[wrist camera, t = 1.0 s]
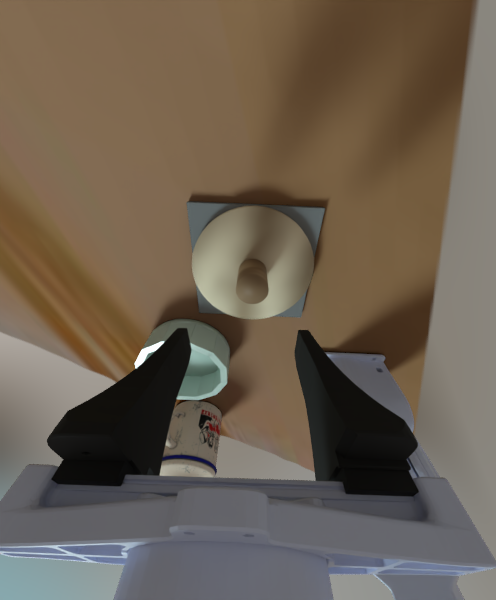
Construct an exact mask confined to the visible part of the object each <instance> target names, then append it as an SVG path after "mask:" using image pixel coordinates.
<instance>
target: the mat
mask: <svg viewBox="0 0 496 600" xmlns="http://www.w3.org/2000/svg"><path fill="white" fill-rule="evenodd" d="M255 205H256V206H265V207H269V208H272V209H275V210H278V211H280V212H282V213H284V214H285V215H287V216H289V217H290V218H291V219H292V220H294V221H295V222H296V223H297V224H298V225H299V226H300V227H301V229H302V230H303V232H304V233H305V235H306V236H307V238H308V240H309V242H310V244H311V247H312V251H313V256H315V251H316V247H317V242H318V238H319V233H320V229H321V224H322V220H323V215H324V211H325V208H324V207H308V206H285V205H262V204H239V203H216V202H193V201H188V202H187V209H188V217H189V226H190V235H191V244H192V253H193V251H194V247H195V244H196V242H197V240H198V238H199V236H200V235H201V233H202V232H203V230H204V229H205V228H206V226H207V225H208V224H209V223H210V222H211V221H212V220H213V219H215V218H216V217H218V216H219V215H221V214H222V213H224V212H226V211H228V210H231V209H234V208H237V207H242V206H255ZM196 288H197V296H198V305H199V313H215V314H226V313H224V312H222V311H220V310H219V309H217V308H216V307H214V306H213V305H212V304H211V303H209V302H208V301H207V300H206V298H205V297H204V296H203V295H202V293H201V292H200V290H199V289H198V287H197V285H196ZM306 292H307V290H306ZM306 292H305V293H304V295H303V296H302V297H301V298H300V300H298V301H297V302H296V303H295V304H294V305H293V306H292V307H290V308H289V309H287V310H286V311H284V312H282V313H280V314H277V315H275V316H282V317H301V315H302V310H303V306H304V301H305V297H306Z"/></svg>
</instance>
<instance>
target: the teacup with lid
mask: <svg viewBox="0 0 496 600" xmlns="http://www.w3.org/2000/svg"><path fill="white" fill-rule="evenodd" d="M221 421H222V414H221V412H220V410H219V409H218V408H217V407H216V406H214V405H212V404H210V403H208V402H204V401H198V400H191V401H185V402H182V403H180V404H179V405H177V406H176V408H175V409H174V411H173V414H172V418H171V422H170V426H169V431H168V435H167V440H166V445H165V449H164V454H163V459H162V465H161V470H160V476H184V477H215V475H216V472H217V469H216V460H217V451H218V444H219V436H220V429H221Z"/></svg>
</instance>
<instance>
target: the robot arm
mask: <svg viewBox="0 0 496 600" xmlns="http://www.w3.org/2000/svg"><path fill="white" fill-rule="evenodd" d="M191 352H192V349H191V344H190V339H189V334H188V330H187V328H177V329H176V330H175V331H174V332H173V333H172V334H171V336H170V337H169V338H168V339H167V340H166V341H165V342H164V343H163V344H162V345H161V346H160V347H159V348H158V349H157V350H156V351H155V352H154V353H153V354H152V355H151V356H150V357H149V358H148V359H146V360H145V361H144V362H143V363H142V364H141V365H140V366H138V367H137V368H136V369H135V370H133V371H132V372H131V373H130V374H128V375H127V376H126V377H124V378H123V379H121V380H120V381H118V382H117V383H116V384H114V385H113V386H111V387H110V388H108V389H106V390H105V391H103V392H102V393H100V394H98V395H97V396H95V397H93V398H91V399H90V400H88V401H86V402H84V403H83V404H81V405H78V406H77V407H75V408H73V409H71V410H69V411H68V412H67V413H66V414H65V415H64V417H63V418H62V419H61V421H60V422H59V423H58V425H57V426H56V427H55V429H54V430H53V432H52V433H51V434H50V436H49V437H48V439H47V443H48V446H49V447H50V448H51V449H52V450H53V451H54V452H55V453H57V454H58V455H59V456H60V457H61V458H62V459H64V460H63V461H62V463H61V464H60V466H59V467H57V466H53V465H39V464H29V465H27V466H26V467H25V469H24V470H23V471H22V473H21V474H20V475H19V477H18V478H17V479H16V481H15V482H14V484H13V485H12V486H11V487H10V489H9V490H8V492H7V493H6V494H5V496H4V497H3V498H2V500H1V501H0V554H2V555H6V556H9V557H26V558H43V559H57V560H70V561H81V562H93V563H105V564H117V565H124V568H123V572H122V575H121V578H120V581H119V584H118V587H117V590H116V594H115V597H114V600H333V594H332V589H331V583H330V577H329V574H373V575H374V576H376V577H377V578H378V579H379V580H380V581H381V582H383V583H384V584H385V585H386V586H387V587H388V588H389V589H390V591H391V592H392V595H393V597H394V600H465V599H464V598H463V596H462V594H461V592H460V590H459V588H458V586H457V580H458V578H459V576H460V575H465V574H470V573H475V572H480V571H484V570H489V569H494V568H496V560H495V559H494V557H493V555H492V554H491V552H490V551H489V549H488V547H487V545H486V544H485V542H484V540H483V539H482V537H481V535H480V534H479V532H478V531H477V529H476V527H475V525H474V524H473V522H472V520H471V519H470V517H469V515H468V514H467V512H466V510H465V509H464V507H463V505H462V504H461V502H460V500H459V498H458V497H457V495H456V494H455V492H454V490H453V489H452V487H451V485H450V483H449V482H448V480H447V479H445V478H440V476H439V475H438V473H437V471H436V470H435V468H434V466H433V464H432V463H431V461H430V459H429V458H428V456H427V455H426V453H425V451H424V450H423V448H422V447H421V445H420V444H419V442H418V441H417V439H416V438H415V436H414V435H413V433H412V432H413V429H414V418H413V414H412V410H411V407H410V405H409V403H408V401H407V399H406V397H405V396H404V394H403V393H402V391H401V389H400V388H399V386H398V385H397V383H396V381H395V380H394V378H393V377H392V375H391V374H390V372H389V370H388V369H387V367H386V366H385V364H384V360H385V356H384V355H377V354H355V353H333V352H324V351H323V350H322V348H321V347H320V346H319V344H318V343H317V342H316V340H315V339H314V337H313V336H312V335H311V333H310V332H309V331H308V330H298V335H297V341H296V347H295V360H296V367H297V371H298V375H299V379H300V383H301V387H302V391H303V395H304V399H305V403H306V408H307V415H308V421H309V428H310V435H311V443H312V451H313V459H314V468H315V477H316V481H304V480H274V479H271V480H270V479H244V478H242V479H241V478H214V477H184V476H160V470H161V465H162V459H163V454H164V449H165V445H166V440H167V435H168V431H169V426H170V422H171V418H172V414H173V410H174V406H175V402H176V399H177V396H178V393H179V390H180V388H181V385H182V382H183V379H184V376H185V374H186V371H187V368H188V365H189V361H190V356H191Z"/></svg>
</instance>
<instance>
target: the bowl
mask: <svg viewBox="0 0 496 600" xmlns="http://www.w3.org/2000/svg"><path fill="white" fill-rule="evenodd" d="M177 328H187V330H188V334H189V339H190V344H191V349H192V352H191V356H190V361H189V365H188V368H187V371H186V374H185V376H184V379H183V382H182V385H181V388H180V390H179V393H178V396H177V399H183V400H201V399H204V398H207V397H211V396H214V395H217V394H218V393H219V392H220V391H221V390H222V388H223V387H224V386H225V385H226V384H227V381H228V373H229V364H230V347H229V344H228V342H227V340H226V339H225V337H224V336H223V335H222V334H221V333H220V332H219V331H218V330H217V329H215V328H214V327H212V326H210V325H208V324H206V323H203V322H200V321H197V320H192V319H174V320H170V321H167V322H164V323H162V324H160V325H159V326H158V327H157V328H156V329H155V330H153V332H152V333H151V335H150V337H149V338H148V340H147V342H146V343H145V345H144V347H143V348H142V350H141V352H140V354H139V356H138V358H137V360H136V362H135V367H136V368H137V367H138V366H140V365H141V364H142V363H143V362H144V361H145V360H146V359H148V358H149V357H150V356H151V355H152V354H153V353H154V352H155V351H156V350H157V349H158V348H159V347H160V346H161V345H162V344H163V343H164V342H165V341H166V340H167V339H168V338H169V337H170V336H171V334H172V333H173V332H174V331H175V330H176V329H177Z"/></svg>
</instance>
